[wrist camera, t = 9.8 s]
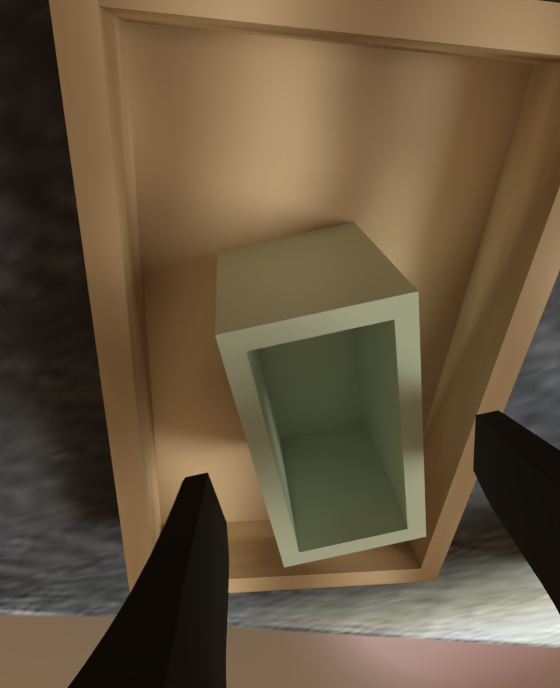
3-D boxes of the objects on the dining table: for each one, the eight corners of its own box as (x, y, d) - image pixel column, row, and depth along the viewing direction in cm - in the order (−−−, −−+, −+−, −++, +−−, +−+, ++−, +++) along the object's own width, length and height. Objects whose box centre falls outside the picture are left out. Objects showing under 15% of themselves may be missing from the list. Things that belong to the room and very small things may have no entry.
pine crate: (556, 30, 14) (660, 15, 11) (406, 512, 25) (436, 580, 22) (90, -23, 13) (40, -62, 9) (144, 522, 23) (130, 598, 20)
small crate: (354, 221, 16) (418, 291, 11) (374, 420, 20) (426, 536, 15) (217, 251, 16) (214, 335, 11) (268, 443, 20) (284, 567, 15)
